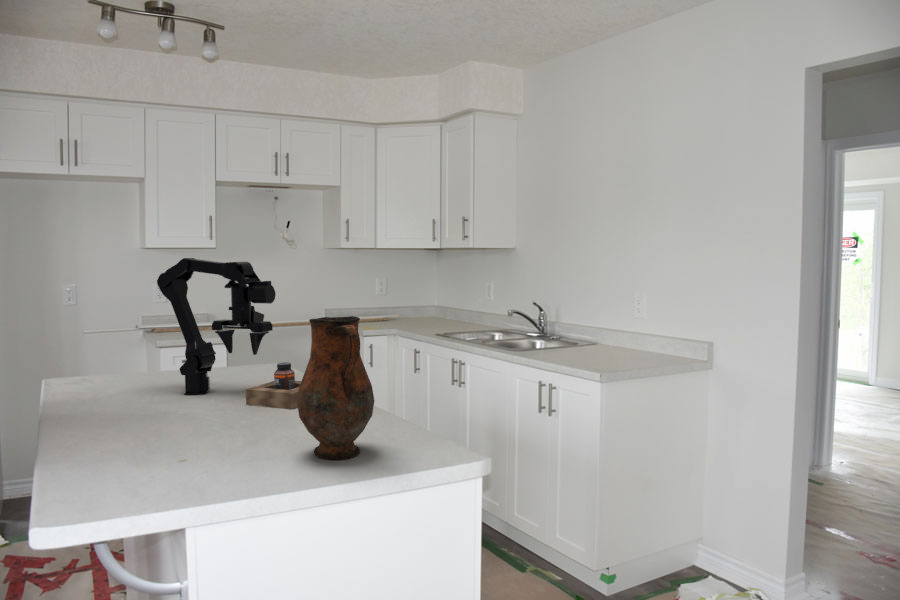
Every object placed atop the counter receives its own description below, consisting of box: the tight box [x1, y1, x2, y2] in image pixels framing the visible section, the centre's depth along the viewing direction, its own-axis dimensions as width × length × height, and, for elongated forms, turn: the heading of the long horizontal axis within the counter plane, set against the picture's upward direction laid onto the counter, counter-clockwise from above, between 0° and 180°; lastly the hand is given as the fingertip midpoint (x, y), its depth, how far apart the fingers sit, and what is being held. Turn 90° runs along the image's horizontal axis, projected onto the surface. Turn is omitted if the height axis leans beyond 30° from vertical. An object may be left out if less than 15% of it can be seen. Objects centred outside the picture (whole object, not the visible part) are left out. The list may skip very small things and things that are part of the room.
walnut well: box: [245, 380, 302, 410], centre depth 199 cm, size 16×16×4 cm
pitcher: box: [297, 315, 375, 461], centre depth 145 cm, size 17×21×30 cm
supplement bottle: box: [273, 361, 296, 390], centre depth 199 cm, size 6×6×11 cm
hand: (242, 353), depth 206 cm, fingers open, 9 cm apart
